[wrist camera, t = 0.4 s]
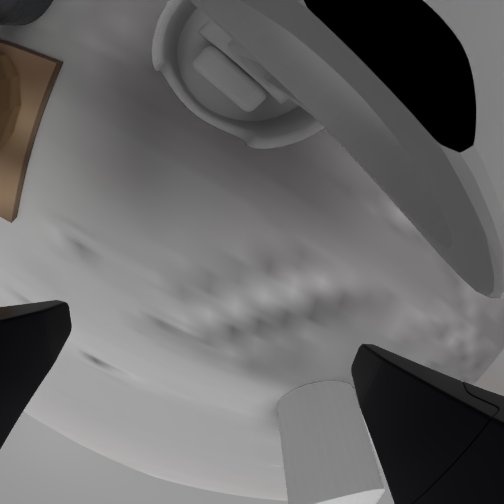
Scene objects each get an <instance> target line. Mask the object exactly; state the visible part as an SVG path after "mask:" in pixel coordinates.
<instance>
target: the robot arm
mask: <svg viewBox="0 0 504 504" xmlns="http://www.w3.org/2000/svg"><path fill="white" fill-rule="evenodd" d="M70 332H71V318H70V311H69V306H68V304H67V303H66V302H63V301H59V300H53V301H46V302H38V303H30V304H23V305H15V306H7V307H0V449H1V447H2V445H3V443H4V442H5V440H6V438H7V437H8V435H9V433H10V431H11V430H12V428H13V427H14V425H15V423H16V422H17V420H18V418H19V417H20V415H21V413H22V412H23V410H24V409H25V407H26V405H27V404H28V402H29V401H30V399H31V398H32V396H33V395H34V393H35V391H36V390H37V388H38V387H39V385H40V384H41V382H42V381H43V379H44V378H45V376H46V375H47V373H48V372H49V371H50V369H51V367H52V366H53V364H54V363H55V361H56V359H57V357H58V355H59V353H60V351H61V350H62V348H63V346H64V344H65V342H66V340H67V338H68V337H69V335H70ZM351 372H352V377H353V381H354V385H355V389H356V393H357V397H358V402H359V405H360V408H361V411H362V414H363V417H364V419H365V422H366V425H367V427H368V430H369V433H370V435H371V438H372V441H373V443H374V446H375V449H376V452H377V454H378V457H379V460H380V463H381V466H382V469H383V471H384V474H385V477H386V480H387V483H388V486H389V489H390V492H391V495H392V497H393V500H394V503H395V504H504V396H502V395H499V394H496V393H493V392H490V391H487V390H484V389H482V388H479V387H476V386H474V385H471V384H468V383H466V382H463V383H462V381H460V380H457V379H455V378H452V377H450V376H447V375H445V374H442V373H440V372H437V371H435V370H432V369H430V368H428V367H425V366H423V365H420V364H418V363H416V362H413V361H411V360H408V359H406V358H404V357H401V356H399V355H397V354H394V353H392V352H389V351H387V350H385V349H382V348H380V347H378V346H375V345H372V344H362V345H361V346H360V347H359V349H358V352H357V354H356V357H355V359H354V361H353V364H352V368H351Z"/></svg>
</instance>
